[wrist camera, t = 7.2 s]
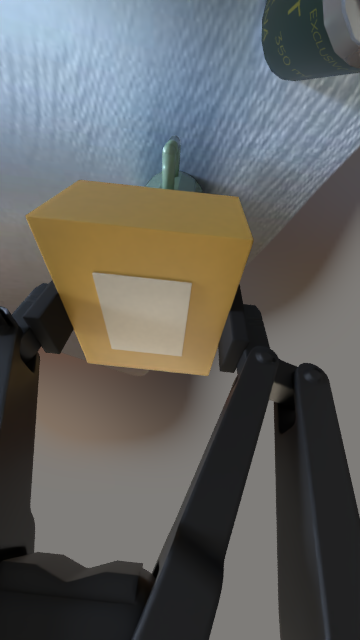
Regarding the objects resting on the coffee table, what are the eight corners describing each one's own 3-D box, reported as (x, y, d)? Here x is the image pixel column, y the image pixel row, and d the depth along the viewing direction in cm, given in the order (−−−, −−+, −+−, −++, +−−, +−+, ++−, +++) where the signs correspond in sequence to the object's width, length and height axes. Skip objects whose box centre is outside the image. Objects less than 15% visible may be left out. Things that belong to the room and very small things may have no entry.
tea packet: (78, 179, 11) (22, 216, 8) (238, 196, 11) (254, 241, 8) (109, 313, 19) (87, 364, 15) (207, 324, 19) (208, 377, 15)
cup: (201, 243, 25) (200, 282, 20) (142, 237, 25) (126, 274, 20) (218, 136, 18) (223, 154, 13) (136, 128, 18) (109, 142, 13)
